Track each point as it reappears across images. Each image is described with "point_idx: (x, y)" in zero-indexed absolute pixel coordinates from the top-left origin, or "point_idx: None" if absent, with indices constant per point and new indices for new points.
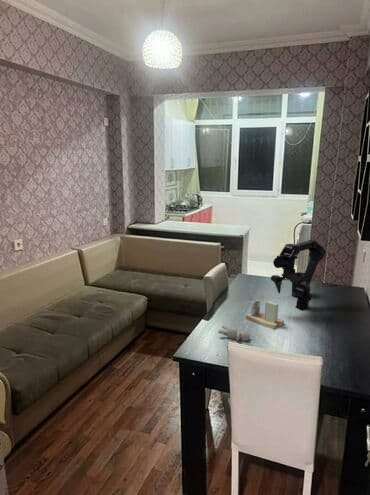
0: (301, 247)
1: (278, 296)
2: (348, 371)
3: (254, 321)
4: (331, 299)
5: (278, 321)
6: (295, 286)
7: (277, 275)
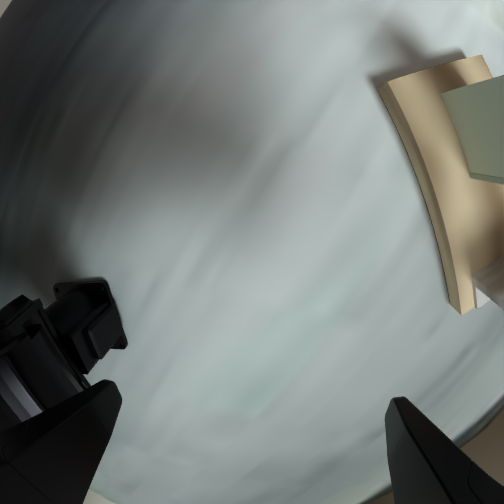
0: None
1: (171, 457)
2: None
3: None
4: None
5: (434, 87)
6: (27, 441)
7: None
